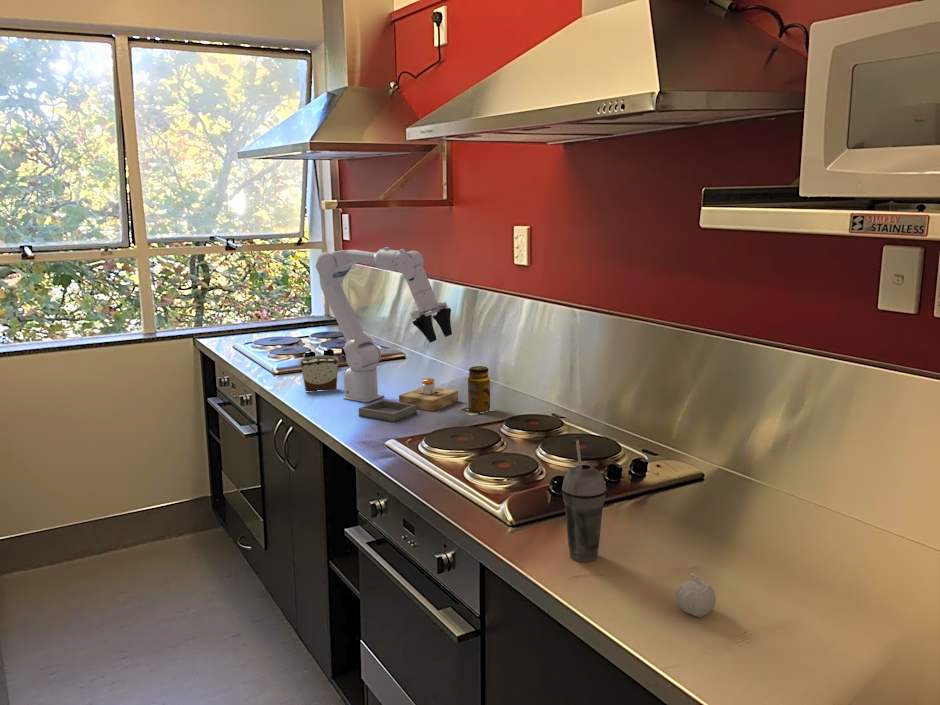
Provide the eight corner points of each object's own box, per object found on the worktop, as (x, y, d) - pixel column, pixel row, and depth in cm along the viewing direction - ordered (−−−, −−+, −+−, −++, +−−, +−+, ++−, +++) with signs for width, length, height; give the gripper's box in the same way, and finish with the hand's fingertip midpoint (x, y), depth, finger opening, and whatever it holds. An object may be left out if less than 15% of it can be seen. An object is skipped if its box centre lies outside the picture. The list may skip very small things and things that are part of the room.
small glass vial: (420, 404, 229) (419, 380, 228) (427, 401, 232) (426, 377, 230) (430, 405, 227) (429, 381, 226) (437, 402, 230) (436, 378, 229)
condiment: (496, 411, 220) (496, 368, 218) (471, 416, 216) (469, 372, 213) (481, 405, 226) (480, 363, 224) (456, 410, 222) (455, 368, 219)
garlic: (676, 598, 118) (677, 565, 117) (715, 603, 116) (716, 570, 115) (674, 619, 112) (675, 585, 111) (715, 624, 111) (716, 590, 110)
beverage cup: (613, 562, 130) (615, 443, 126) (572, 569, 128) (572, 448, 124) (594, 544, 137) (595, 430, 133) (554, 550, 135) (554, 435, 131)
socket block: (399, 405, 228) (398, 395, 227) (424, 396, 238) (423, 386, 237) (434, 411, 221) (433, 400, 221) (458, 401, 231) (457, 390, 231)
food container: (338, 385, 254) (336, 354, 252) (341, 389, 248) (339, 357, 246) (298, 388, 250) (296, 357, 248) (301, 393, 244) (298, 361, 242)
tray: (358, 416, 218) (358, 408, 217) (382, 407, 226) (381, 399, 226) (394, 422, 211) (393, 413, 211) (416, 413, 220) (416, 405, 219)
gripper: (417, 291, 213) (436, 339, 213) (447, 283, 225) (466, 328, 225) (398, 300, 217) (417, 347, 217) (429, 292, 229) (447, 336, 229)
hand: (441, 338), depth 221 cm, fingers open, 7 cm apart
